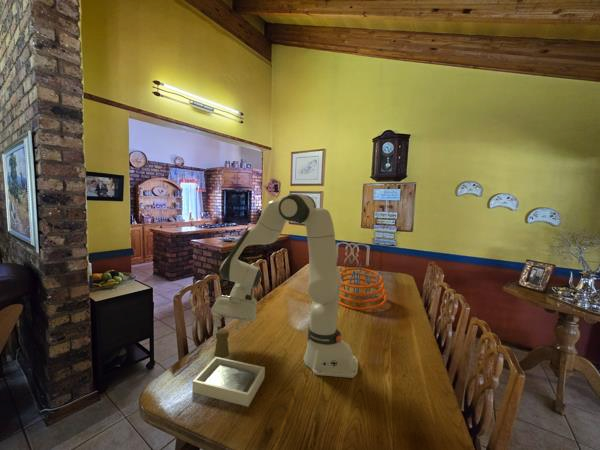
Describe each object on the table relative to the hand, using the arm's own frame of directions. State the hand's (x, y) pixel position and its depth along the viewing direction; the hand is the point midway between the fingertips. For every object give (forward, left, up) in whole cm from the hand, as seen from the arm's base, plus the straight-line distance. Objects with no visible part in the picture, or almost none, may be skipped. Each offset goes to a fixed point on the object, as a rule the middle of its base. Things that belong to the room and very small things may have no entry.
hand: (227, 327), depth 111 cm
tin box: (-12, +19, -9) cm, 25 cm away
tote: (-12, +19, -10) cm, 25 cm away
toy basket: (-55, -79, -10) cm, 97 cm away
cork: (0, +4, -10) cm, 11 cm away
